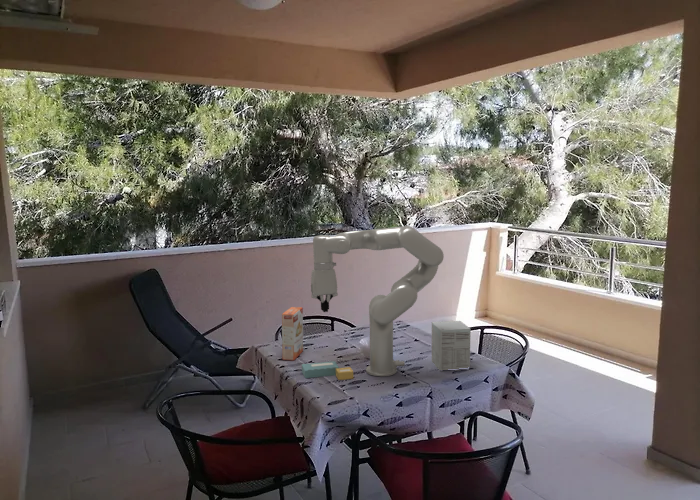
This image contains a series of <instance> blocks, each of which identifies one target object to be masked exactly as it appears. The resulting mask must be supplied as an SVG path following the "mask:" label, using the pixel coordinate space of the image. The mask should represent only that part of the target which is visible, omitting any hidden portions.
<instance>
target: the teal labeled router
mask: <svg viewBox="0 0 700 500" xmlns="http://www.w3.org/2000/svg"><path fill="white" fill-rule="evenodd" d="M336 368H340V367H339V365H338V364H337V362H336V361H335V360H334V361H333V360H332V361H324V362H313V363H303V364H301V373H302V375H303V376H304V378H305V379H308V378H309V379H312V378H321V377H322V378H323V377H329V376H330V377H331V376H336Z"/></svg>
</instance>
